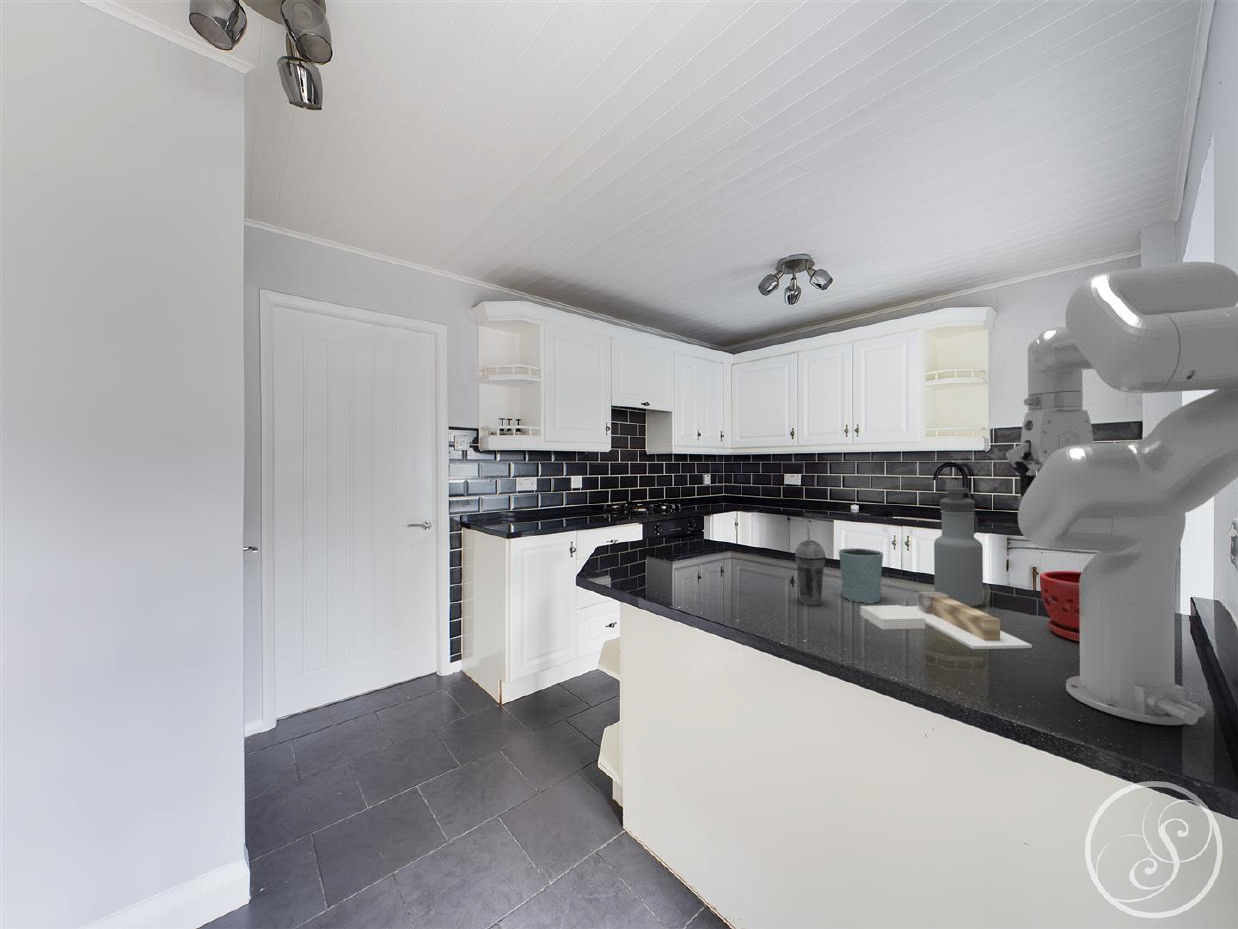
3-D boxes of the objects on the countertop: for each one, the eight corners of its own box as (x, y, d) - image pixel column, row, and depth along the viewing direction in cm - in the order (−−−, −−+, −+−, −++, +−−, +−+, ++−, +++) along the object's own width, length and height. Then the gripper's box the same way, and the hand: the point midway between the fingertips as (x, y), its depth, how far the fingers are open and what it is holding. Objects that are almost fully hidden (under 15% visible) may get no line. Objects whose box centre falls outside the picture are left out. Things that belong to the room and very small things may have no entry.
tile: (925, 618, 102) (899, 605, 111) (882, 619, 101) (860, 606, 110) (925, 630, 102) (899, 616, 111) (882, 631, 101) (860, 617, 110)
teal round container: (845, 603, 119) (845, 555, 119) (834, 592, 129) (833, 547, 129) (890, 605, 117) (889, 555, 117) (875, 593, 127) (874, 547, 127)
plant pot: (1102, 628, 100) (1101, 570, 100) (1152, 653, 87) (1152, 586, 87) (1026, 623, 103) (1026, 567, 103) (1064, 647, 91) (1064, 583, 90)
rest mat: (1032, 648, 90) (1032, 645, 90) (973, 649, 90) (973, 646, 90) (945, 608, 114) (945, 605, 114) (899, 609, 114) (899, 606, 114)
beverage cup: (831, 602, 121) (829, 522, 120) (820, 609, 115) (818, 525, 115) (802, 597, 126) (801, 520, 125) (790, 603, 120) (789, 523, 120)
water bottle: (941, 593, 126) (940, 486, 126) (987, 600, 119) (986, 487, 119) (929, 601, 119) (928, 488, 119) (977, 610, 112) (976, 489, 112)
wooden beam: (1005, 640, 93) (1005, 619, 93) (979, 640, 93) (979, 620, 93) (940, 609, 112) (939, 592, 112) (918, 609, 112) (918, 592, 112)
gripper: (1024, 402, 86) (1025, 499, 86) (1122, 400, 86) (1122, 497, 86) (992, 407, 93) (992, 495, 94) (1082, 405, 93) (1082, 493, 94)
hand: (1055, 496), depth 90 cm, fingers open, 9 cm apart
